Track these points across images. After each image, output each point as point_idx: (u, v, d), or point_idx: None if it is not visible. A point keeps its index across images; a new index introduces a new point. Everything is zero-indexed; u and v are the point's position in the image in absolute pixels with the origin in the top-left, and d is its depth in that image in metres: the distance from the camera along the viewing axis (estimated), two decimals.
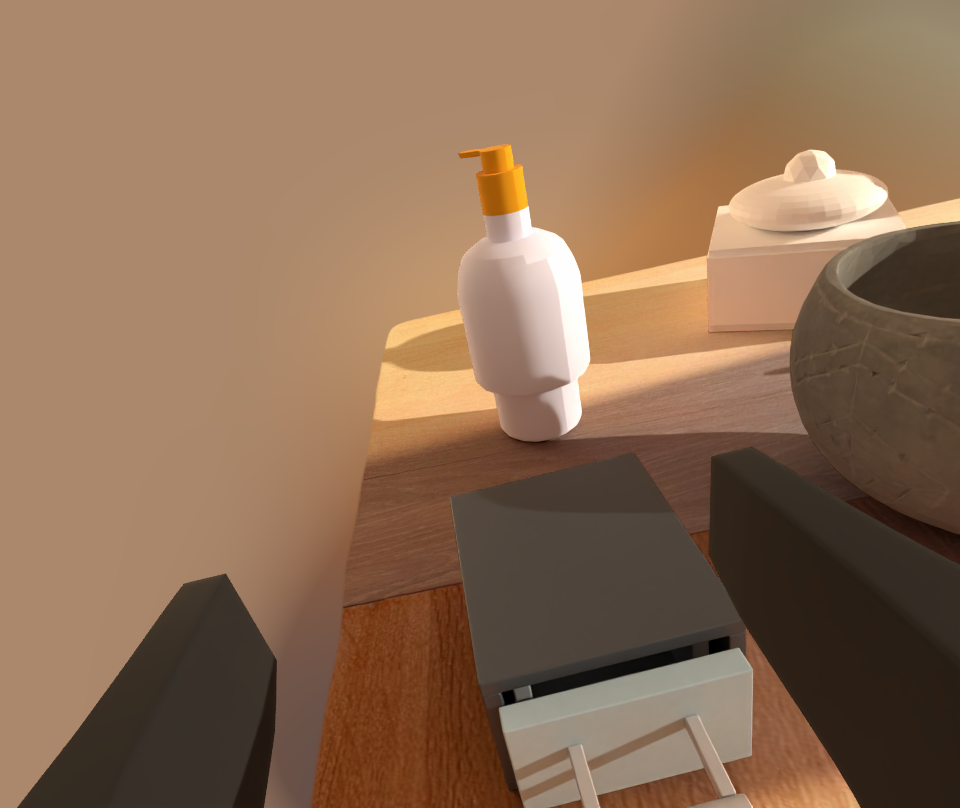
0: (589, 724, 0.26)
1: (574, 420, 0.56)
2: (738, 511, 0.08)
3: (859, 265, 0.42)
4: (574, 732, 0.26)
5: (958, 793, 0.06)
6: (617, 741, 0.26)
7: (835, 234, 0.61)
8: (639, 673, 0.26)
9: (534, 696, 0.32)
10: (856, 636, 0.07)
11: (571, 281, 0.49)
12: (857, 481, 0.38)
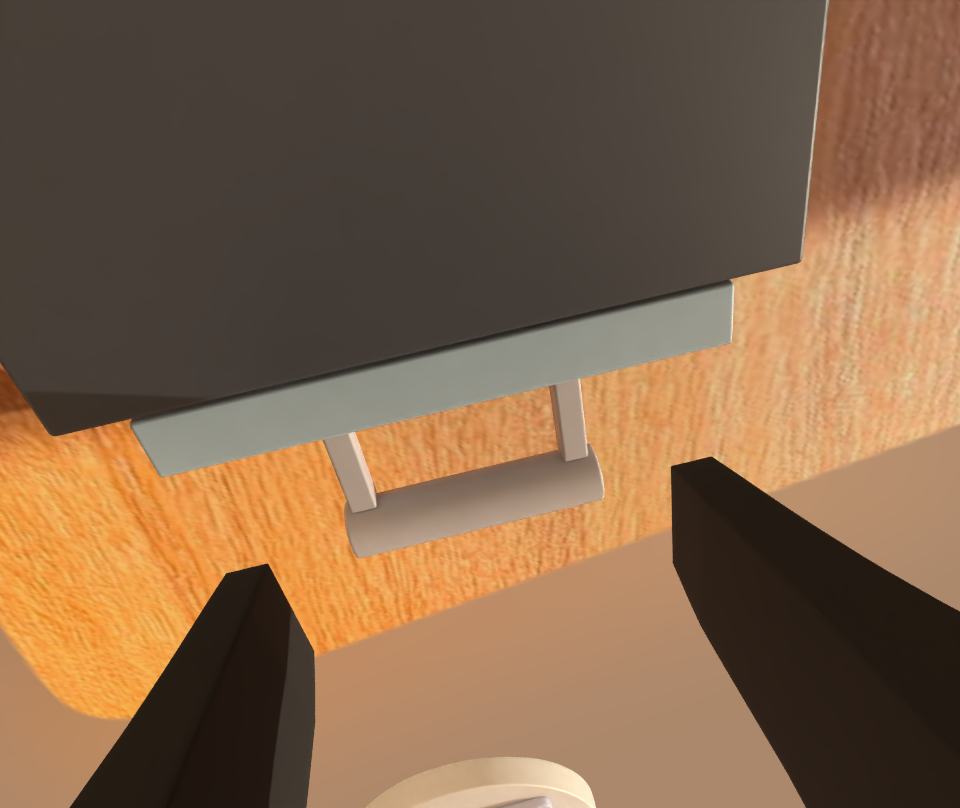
0: None
1: None
2: (695, 521, 0.08)
3: None
4: None
5: None
6: None
7: None
8: (485, 337, 0.11)
9: None
10: (801, 650, 0.07)
11: None
12: None
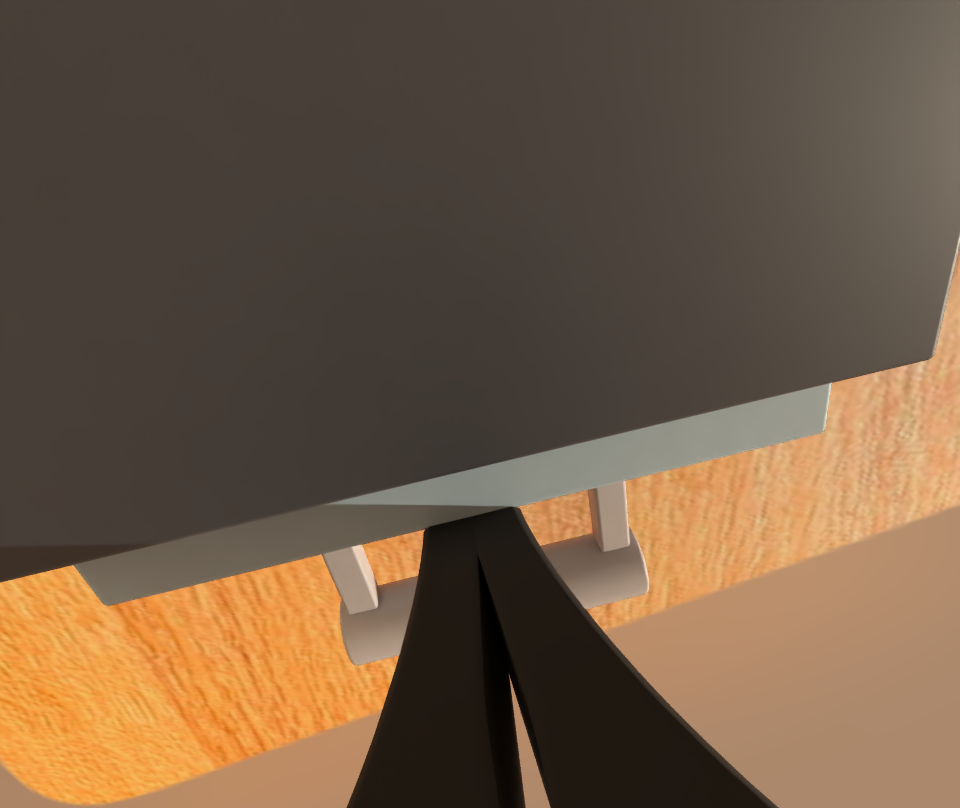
0: None
1: None
2: None
3: None
4: None
5: None
6: None
7: None
8: None
9: None
10: (529, 718, 0.06)
11: None
12: None
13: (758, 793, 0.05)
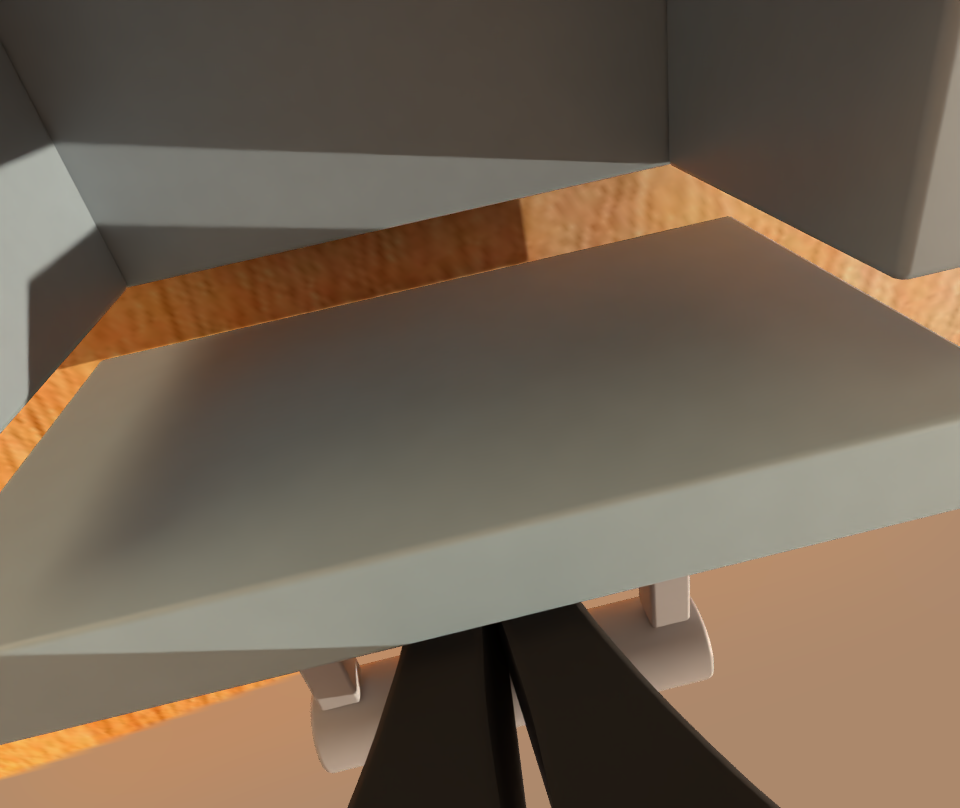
0: None
1: None
2: None
3: None
4: None
5: None
6: None
7: None
8: (564, 504, 0.05)
9: (44, 101, 0.07)
10: (530, 718, 0.06)
11: None
12: None
13: (760, 793, 0.05)
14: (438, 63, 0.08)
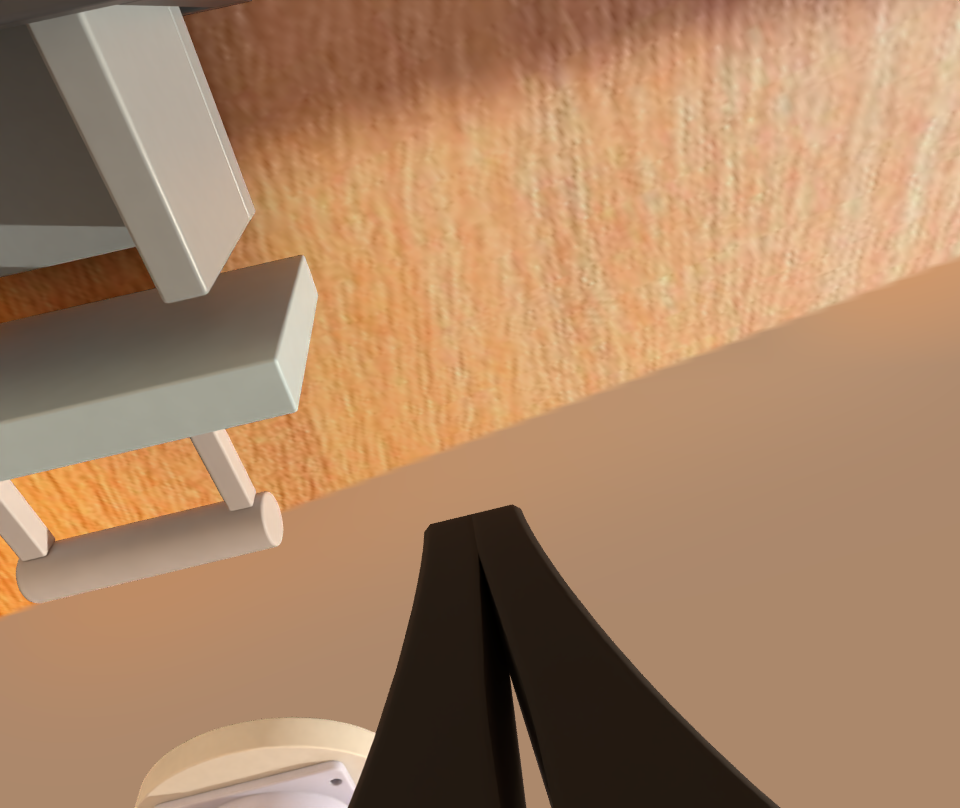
0: None
1: None
2: None
3: None
4: None
5: None
6: None
7: None
8: (38, 410, 0.11)
9: None
10: (530, 718, 0.06)
11: None
12: None
13: (759, 793, 0.05)
14: (52, 175, 0.13)
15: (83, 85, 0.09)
